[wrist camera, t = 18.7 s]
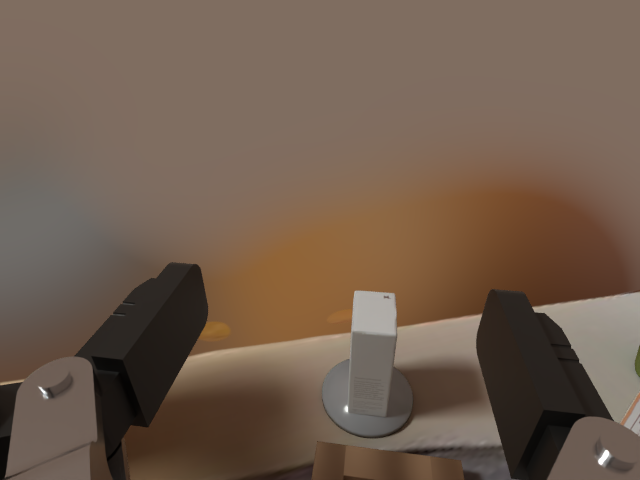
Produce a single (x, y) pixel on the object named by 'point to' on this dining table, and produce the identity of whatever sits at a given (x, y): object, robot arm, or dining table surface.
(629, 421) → the cracker box
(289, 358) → the dining table surface
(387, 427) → the slate coaster
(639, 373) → the plant pot
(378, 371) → the skincare box
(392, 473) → the pocket block
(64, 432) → the robot arm
